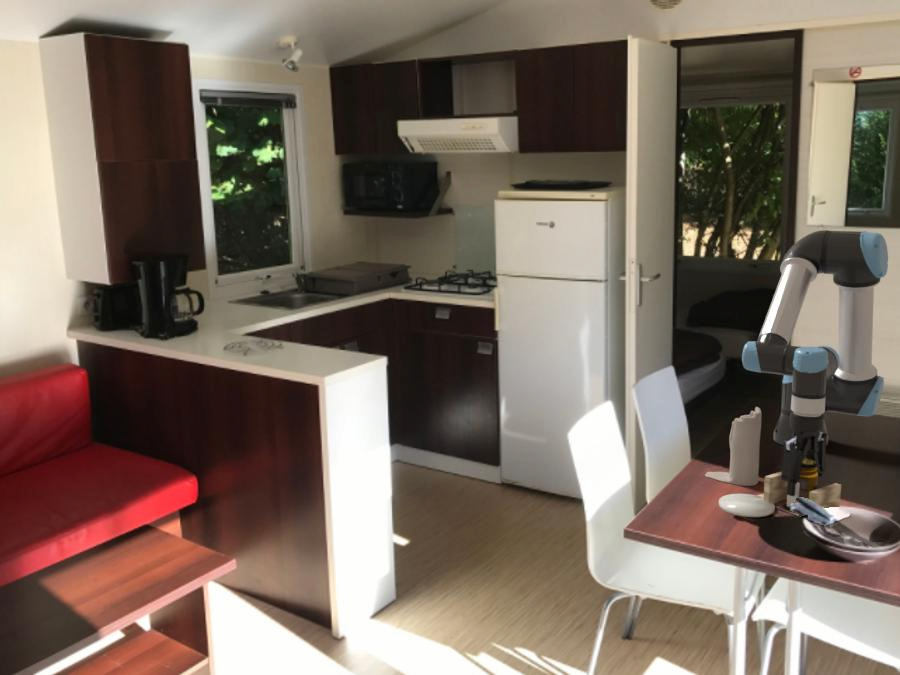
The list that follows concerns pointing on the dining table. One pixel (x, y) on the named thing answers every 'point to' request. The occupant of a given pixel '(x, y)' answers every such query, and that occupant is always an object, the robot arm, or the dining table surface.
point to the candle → (743, 451)
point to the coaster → (746, 505)
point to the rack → (823, 496)
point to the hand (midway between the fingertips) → (801, 504)
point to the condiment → (805, 481)
